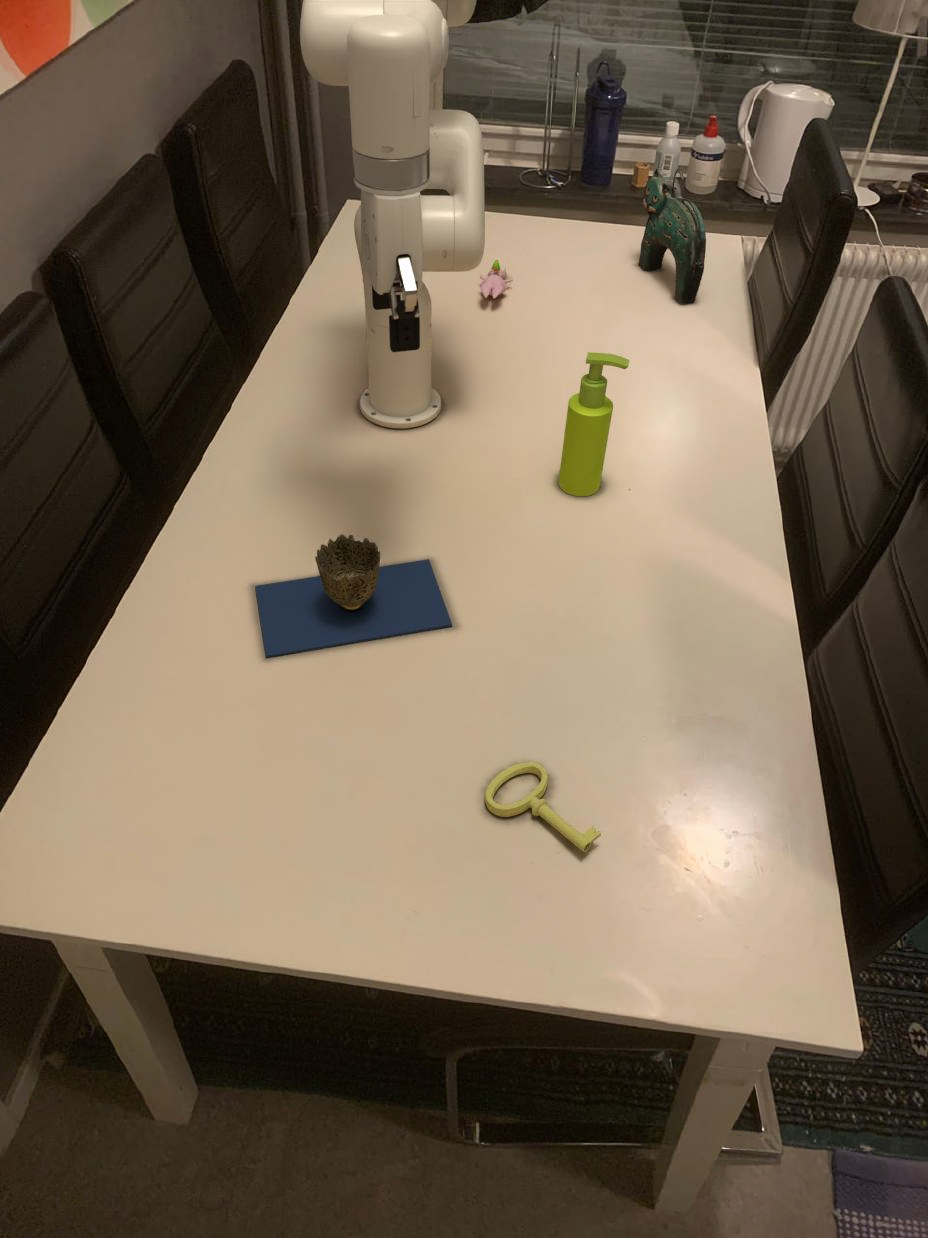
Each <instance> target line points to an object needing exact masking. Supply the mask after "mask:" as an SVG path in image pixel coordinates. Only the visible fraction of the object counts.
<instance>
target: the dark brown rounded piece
mask: <svg viewBox="0 0 928 1238" xmlns="http://www.w3.org/2000/svg"><path fill="white" fill-rule="evenodd" d="M314 559H315V562H316V567H317V571H318V574H319V576H320V578H321V581H322V585H323V587H324V590H325V592H326V594H327V595H328V596H329V597H330V599H332V600H333V601H334V602H336V603H337V605H338V606H339V607H340V608H341V609H342V610H343V611H346V612H357V611H359V610H361V609H362V608H363V607H364V606H365V604H366V602H367V600H368V599H369V598H370V597H371V596H372V595H373V594H374V592H375V590H376V587H377V583H378V576H379V567H381V551H380V550H379V547H378V545H377V543H376V542H375V541H370V539H369V538H368V537H364V538H363V540H362V541H361V540H356V539H355V538H354V536H353V534H349V536H348V537H347V536H346V535H345V534H342V533H341V534H339V535H338V536H337V537H336V539H335V540H333V539H331V538H329V539H328V541H327V545H325V544H323V543H322V544H320V548H319V549H318V548H317V550H316V555H315V556H314Z"/></svg>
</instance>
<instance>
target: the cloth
mask: <svg viewBox="0 0 928 1238" xmlns="http://www.w3.org/2000/svg"><path fill="white" fill-rule="evenodd" d="M254 589H255V595H256V603H257V609H258V614H259V621H260V627H261V634H262V635H261V636H262V640H263V641H262V642H263V647H264V654H265V659H268V658H269V659H270V658H275V657H282V656H287V655H292V654H293V655H294V654H299V653H303V652H311V651H316V650H322V649H327V648H335V647H339V646H340V647H341V646H346V645H353V644H357V643H358V644H359V643H363V642H369V641H375V640H376V641H377V640H381V639H386V638H387V639H388V638H393V637H399V636H405V635H411V634H417V633H421V632H429V631H435V630H441V629H445V628H446V629H447V628H452V627H453V623H452V619H451V617H450V614H449V611H448V609H447V605H446V603H445V601H444V598H443V595H442V591H441V589H440V586H439V583H438V581H437V578H436V574H435V573H434V569H433V567H432V563H431V560H430V559H429V558H428V559H427V558H426V559H421V560H415V561H409V562H407V561H406V562H402V563H395V564H389V565H382V566H381V565H380V567H379V576H378V583H377V587H376V590H375V592H374V594H373V595H372V596H371V597H370V598H369V599H368V600H367V602H366V604H365V606H364V607H363V608H362V609H361V610H359V611H357V612H346V611H343V610H342V609H341V608H340V607H339V606H338V605H337V603H336V602H334V601H333V600H332V599H330V597H329V596H328V595H327V594H326V592H325V590H324V587H323V585H322V581H321V578H320V575H317V576H310V577H304V578H297V579H289V580H285V581H278V582H271V583H264V584H257V585H255V586H254Z"/></svg>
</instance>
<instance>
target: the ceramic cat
mask: <svg viewBox="0 0 928 1238" xmlns="http://www.w3.org/2000/svg"><path fill="white" fill-rule="evenodd" d="M677 173H679V176H680V179H681V181H682V182H684V181H685V177H684V174H683V171H682V169H680V168H676V169H675V172H674V175H673V176H663V175H662V174H661V173H660V171H659V169H658V168H655V171H654V173H653V176H652V177H651V178H649V179H648V180H647V181H646V183H645V187H644V192H643V199H642V204H643V208H644V210H645V211H646V213H647V214H648V218H647V220H646V223H645V228H644V231H643V237H642V240H641V243H640V253H639V257H638V258H639V259H638V266H639V268H641V269H642V270H643V271H645V272H654V271H661V270H662V267H663V261H664V257H665V255H666V252H667V250H669V251H670V252H671V255H672V257H673V259H674V263H675V285H674V286H675V287H674V300H675V301H676V302H677V303H678V304H680V305H688V304H693V303H695V301H696V298H697V295H698V292H699V289H700V286H701V282H702V280H703V275H704V271H705V260H706V251H707V250H706V249H707V234H706V233H707V232H706V226H705V223H704V219H703V217H702V214H701V212H700V210H699V209H698V208H697V206H696V205H695V203H694V202H693V201H691V199H688V198H684V197H683V196H682V191H681V186H680V183H679V181H678V179H677V178H676V177H677V176H676V175H677Z"/></svg>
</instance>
